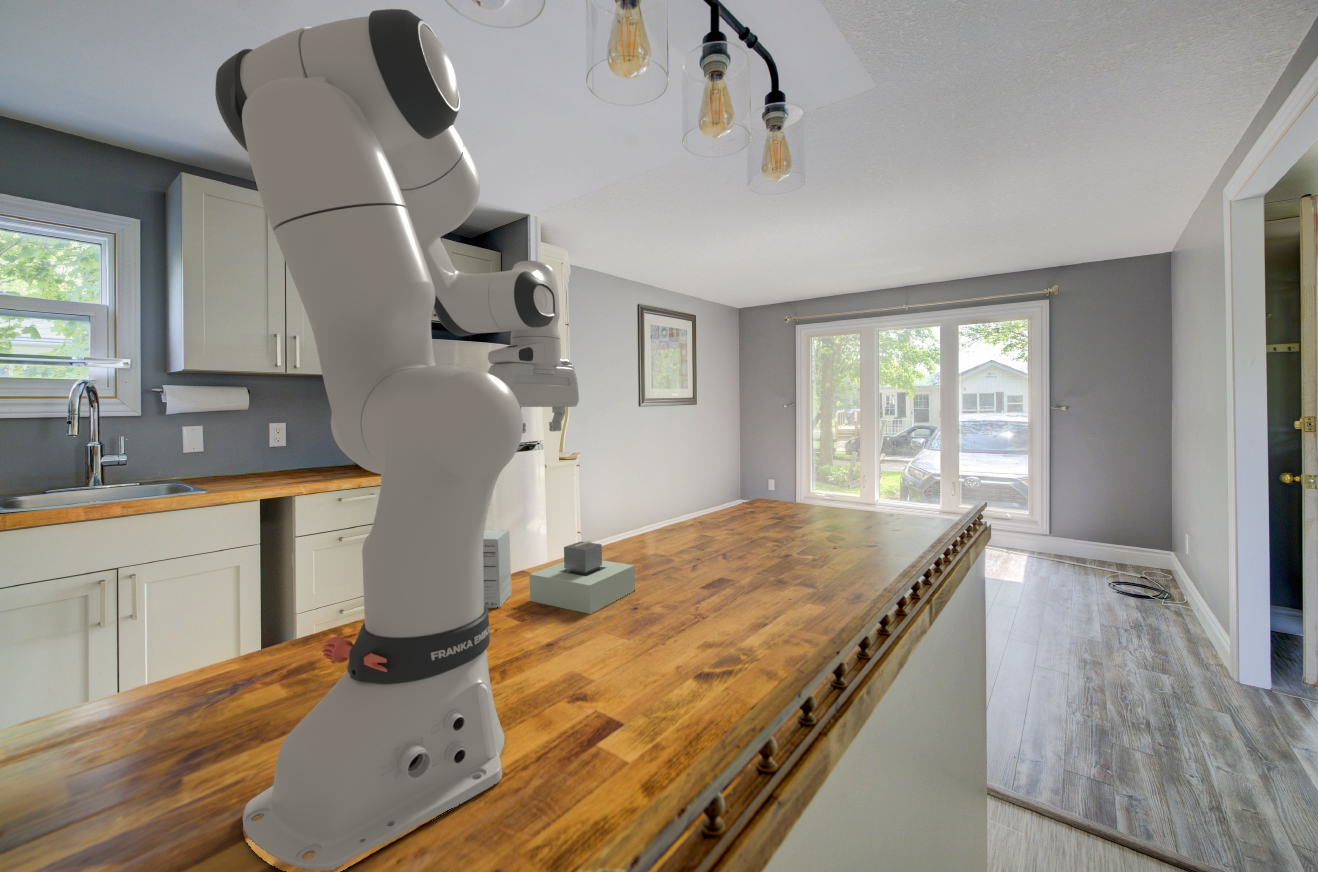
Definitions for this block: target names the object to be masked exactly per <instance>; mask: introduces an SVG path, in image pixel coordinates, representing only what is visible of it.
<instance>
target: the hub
mask: <svg viewBox="0 0 1318 872" xmlns="http://www.w3.org/2000/svg"><path fill="white" fill-rule="evenodd" d="M528 577H529V601H530V602H533V603H538V604H541V605H547V606H553V607H556V608H561V609H566V610H571V611H575V612H579V613H584V614H588V615H591V614H593V613H596V612H597V611H600V610H601V609H603V608H605V607H607V606H609V605H611V604H613V603H614V602H617V601H619V600H620V598H621V599H623V598H625V597H626V596H628V595H630V594H632V593H633V592H632V591H634V590H635V591H636V567H635V565H634V564H627V563H622V562H615V561H609V560H604V559H602V565H601V566H600V571H598V572H596V573H593V574H591V575H588V576H581V575H575V574H569V573H567V569H566V568H564V561H561V562H560V563H556V564H554V565H551V566H549V567H545V568H542V569H540V570H537V571H534V572H532V573H529V576H528ZM635 591H634V592H635ZM631 592H632V593H631ZM629 593H630V594H629ZM627 594H628V595H627ZM625 595H626V596H625ZM622 597H623V598H622ZM618 599H619V600H618ZM616 600H617V601H616Z"/></svg>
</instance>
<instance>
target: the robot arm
mask: <svg viewBox="0 0 1318 872" xmlns="http://www.w3.org/2000/svg"><path fill="white" fill-rule="evenodd" d="M214 94H215V101H216V104H217V108H218V111H219V113H220V116H221V118H222V120H223V122H224V124H225V125H226V127H227V129H228V131H229V132H230V133H231V135H232V137H234V139H235V140H236V141H237V143H239V145H240V146H241V148H243V149H244V150H245V151H246V152H247V154H248V158H249V162H250V163H249V164H250V166H251V170H252V174H253V177H254V180H255V183H256V187H257V190H258V193H259V196H260V201H261V202H262V205H263V208H264V211H265V213H266V216H267V219H268V221H269V224H270V227H271V229H272V231H273V235H274V237H275V240H276V241H277V244H278V246H279V248H280V251H281V253H282V256H283V258H284V261H285V263H286V266H287V268H288V271H289V273H290V275H291V278H292V281H293V283H294V285H295V287H296V290H297V292H298V295H299V298H300V300H301V303H302V306H303V307H304V310H305V313H306V315H307V319H308V321H309V324H310V327H311V331H312V334H313V338H314V342H315V346H316V350H317V354H318V359H319V364H320V369H321V374H322V378H323V383H324V388H325V392H326V395H327V398H328V402H329V403H328V404H329V406H330V410H331V415H330V416H331V419H330V428H331V433H332V436H333V440H334V441H335V443H336V445H337V447H338V448H339V449H340V450H341V451H342V452H343V453H344V454H345V455H346V456H347V458H348V459H351V460H352V461H353V462H354V463H355V464H357V465H358V466H359V467H361V468H363V469H365V471H369V472H372V473H374V474H378V475H380V476H381V477H380V479H381V481H380V486H379V487H380V488H379V494H378V501H377V506H376V510H375V515H374V519H373V524H372V526H371V529H370V532H369V534H367V536H366V537H365V539H364V541H363V544H362V549H361V555H362V557H361V559H362V583H363V587H362V588H363V608H364V612H363V613H364V623H362V625H361V626H360V629H359V631H358V635H357V636H356V639H355V642H354V643H353V641H352V640H349V639H344V638H343V637H340V636H332V637H330V638H329V639H326V641H325V644H324V645H323V646H322V650H321V652H322V653H323V655H322V656H323V657H325V659H328V660H331V661H334V662H336V663H344V662H346V661H348V663H347V667H346V669H347V671H346V672H345V673H344V675H342V676H341V678H340V679H338V680H337V682H336V683H335V684H334V685H333V686H332V687H331V688H330V689H329V691H328V692H326V694H324V696H323V697H322V699H321V700H320V701H319V702H317V704H316V705H315V706H314V707H313V708H312V709H311V710H310V711H309V712H308V713H307V714H306V715H305V716H304V717H303V718H302V719H301V720H300V721H299V723H298V724H296V726H295V727H294V728H293V729H292V730H291V731H290V732H289V733H287V735H286V737H285V738H284V740H283V741H282V744H281V746H280V749H279V751H278V754H277V755H278V756H277V759H276V762H275V764H276V765H275V770H274V776H273V785H271V786H270V787H268V788H266V789H264V790H263V791H262V792H261V793H259V794H258V795H255V796H254V797H253V798H252V799H250V800H249V801H248V802H246V805H245V807H244V809H243V814H242V820H243V821H242V822H243V827H244V830H245V832H246V834H247V836H248V837H249V839H250V840H252V842H254V843H255V845H257V846H259V847H260V848H261V849H263V850H265V851H266V852H267V853H268V854H271V855H272V856H274V857H276V858H278V859H279V860H281V861H283V862H285V863H286V864H287V863H288V864H290V865H293V866H296V867H300V868H305V869H310V870H334V869H335V868H336V867H339V866H341V865H342V864H345V863H347V862H348V861H349V860H350V859H352V858H355V857H356V856H357V855H360V854H361V853H364V852H366V851H368V850H370V849H373V848H374V847H376V846H379V845H382V844H383V843H385V842H387V841H390V840H391V839H393V838H395V837H398V836H400V835H402V834H403V833H406V832H407V831H409V830H410V829H411V828H414V827H416V826H417V825H419V824H421V823H422V822H425V820H428V819H431V818H432V817H433V818H434V816H437V815H439V814H442V813H443V812H445V811H447V810H449V809H451V808H453V809H455V808H456V807H458V806H459V804H460V805H461V804H463V803H464V802H467V801H468V800H470V799H472V798H473V797H475V796H478V794H481V793H483V792H484V791H486V790H488V789H489V788H492V787H493V786H495V785H496V784H498V783H499V782H500V781H501V779H502V777H503V770H502V769H503V768H502V762H501V758H500V757H501V754H502V752H503V749H504V745H505V733H504V730H503V728H502V726H501V723H500V720H499V716H498V713H497V710H496V706H495V699H494V697H493V689H492V686H491V678H490V671H489V661H488V652H487V649H488V647H489V645H490V643H491V638H490V637H491V636H490V629H491V628H490V619H489V617H490V615H489V608H487V607H486V606H485V605H484V579H483V540H484V530H485V528H486V523H487V518H488V512H489V507H490V505H491V500H492V498H493V493H494V490H495V486H496V483H497V481H498V478H499V476H500V475H501V472H502V471H503V470H504V468H505V467H506V466H508V464H509V463H510V462H511V461H512V459H513V458H514V456H515V455H516V453H517V452H518V448H519V446H520V444H521V440H522V436H523V434H525V433H526V431H527V429H526V426H527V425H526V422H523V413H522V408H534V407H535V408H551V409H552V411H551V413H553V417H552V420H551V421H549V422H548V428H549V429H548V430H549V431H550V432H561V431H562V422H563V421H564V417H565V415H566V408H567V407H568V408H573V407H574V408H575V407H577V406H578V404H579V403H580V402H579V401H580V395H579V385H578V384H579V383H578V378H577V374H576V372H575V366H574V365H573V363H571V361H570V360H569V359H567V358H566V359H565V358H564V359H562V354H561V352H562V351H561V335H560V332H559V320H560V316H561V315H560V314H561V313H560V312H561V310H560V297H559V296H560V295H559V288H558V281H557V275H556V273H555V270H554V269H553V267H551V266H549V265H548V264H546V263H544V262H541V261H537V260H521V261H518V262H516V263H515V264H514V265H512V269H510V270H505V271H495V272H486V273H485V272H483V273H466V272H463V271H459V270H457V269H456V268H455V267H454V265H453V262H452V261H451V259H450V257H449V254H448V252H447V250H446V248H445V246H444V245H443V242H442V240H441V238H442V237H443V236H445V235H447V234H449V233H450V232H453V231H455V230H456V229H458V228H459V227H460V226H461V225H462V224H463V223H465V222H466V220H467V219H469V217H470V216H471V214H472V213H473V212H474V210H475V208H476V206H477V204H478V201H479V197H480V192H481V179H480V175H479V172H478V169H477V166H476V164H475V161H474V159H473V157H472V155H471V153H470V151H469V150H468V148H467V146H466V144H465V143H464V140H463V139H462V136H460V134H459V132H458V129H457V128H456V125H454V124H455V121H456V119H457V117H458V114H459V111H460V108H461V98H460V97H461V96H460V92H459V87H458V80H457V75H456V71H455V68H454V65H453V62H452V61H451V58H450V57H449V54H448V52H447V50H446V49H445V47H444V46H443V44H442V43H441V41H440V40H439V38H438V36H437V35H436V32H434V30H433V29H432V28H431V26H430V25H429V24H428V23H427V22H426V21H425V20H423V19H421V18H420V17H418V16H417V15H416V14H414V13H413V12H411V11H410V10H407V9H400V8H397V9H396V8H389V9H387V8H386V9H378V10H377V9H375V10H372V11H370V14H369V15H368V16H360V17H353V18H347V19H340V20H337V21H333V22H327V23H323V24H319V25H316V26H303V27H301V28H298V29H295V30H292V31H290V32H287V33H285V34H283V35H280V36H278V37H275V38H273V39H272V40H270V41H267V42H265V43H264V44H261V45H259V46H258V47H256V48H254V49H251V48H244V49H241V50H240V51H238V52H237V53H234V54H233V55H232V56H231V57H229V58H228V59H227V60H226V61H224V62H223V63H222V64H221V66H219V67H218V69H217V71H216V77H215V93H214ZM433 310H434V312H435V315H436V317H437V319H438V320H439V323H441V325H443V327H444V328H446V330H447V331H449V332H450V333H451V334H453V335H455V336H456V337H467V336H474V335H478V334H479V335H480V334H488V333H504V332H505V333H506V332H507V333H508V332H511V333H510V344H509V345H506V346H503V347H501V348H497V349H494V350H491V351H489V352H488V353H487V361H488V363H489V364H491V366H490V367H489V368H488V370H487V372H485V371H482V370H480V369H475V368H472V367H467V366H464V365H461V364H452V363H451V364H450V363H445V364H441V363H440V364H437V363H436V360H435V355H434V354H435V353H434V347H433V337H432V316H433ZM494 784H495V785H494ZM454 807H455V808H454ZM451 810H452V809H451ZM449 811H450V810H449ZM260 815H263V817H262V818H261V819H259V820H256V821H252V819H253V818H254V817H256V816H260ZM442 815H443V814H442ZM242 822H241V823H242ZM308 853H315V854H314V856H312V857H311V858H309V859H302V858H303V856H304V855H306V854H308Z"/></svg>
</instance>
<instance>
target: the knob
mask: <svg viewBox="0 0 1318 872" xmlns="http://www.w3.org/2000/svg"><path fill="white" fill-rule="evenodd" d="M602 545H603V544H602V543H601V544H600V543H596V542H594V543H593V542H592V541H590V540H587V541H579V542H575V543H572V544H568V545H566V546H563V559H564V560H563V562H564V568H566V569H567V573H569V574H575V575H581V576H588V575H591V574H593V573H596V572H598V571H600V566H601V565H602V560H603V554H602V552H603V549H602Z"/></svg>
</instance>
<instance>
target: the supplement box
mask: <svg viewBox="0 0 1318 872" xmlns="http://www.w3.org/2000/svg"><path fill="white" fill-rule="evenodd" d="M510 536H511V535H510V530H506V529H502V530H501V529H493V530H492V529H488V530H487V529H486V530H484V540H483V579H484V605H485V606H486V607H487V608H488V609H499V608H501V607H502V606H503V604H504V603H505V602H506V601H507V600H508V599H509V598H510V597H511V595H512V573H511V572H512V569H511V567H512V566H511V543H510V542H511V541H510V538H511V537H510ZM497 607H498V608H497Z"/></svg>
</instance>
